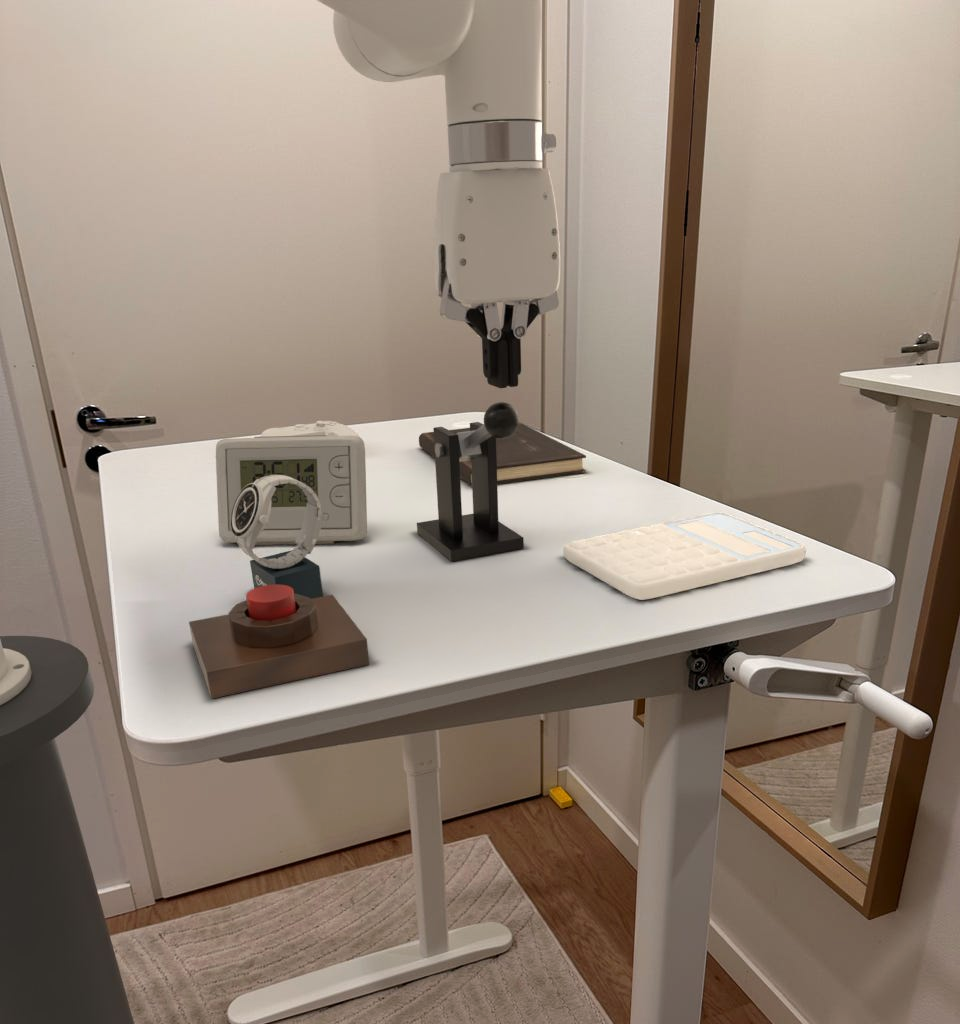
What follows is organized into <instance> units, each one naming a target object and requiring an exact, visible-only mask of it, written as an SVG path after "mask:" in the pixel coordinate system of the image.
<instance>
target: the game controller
mask: <svg viewBox="0 0 960 1024" xmlns="http://www.w3.org/2000/svg"><path fill="white" fill-rule="evenodd" d="M309 435H326V436H358V437H360V435H359V433H357V432H356V431H355V430H354V429H353V428H351V427H349V426H348V425H346V424H343V423H340V422H337V421H332V420H316V422H313V423H306V424H304V423H297V424H295V425H290V426H283V427H270V428H267V429H265V430H263V431H262V432H261V434H260V437H267V436H309Z"/></svg>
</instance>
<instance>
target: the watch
mask: <svg viewBox="0 0 960 1024" xmlns="http://www.w3.org/2000/svg"><path fill="white" fill-rule="evenodd" d="M279 483H280V484H286V483H291V484H296V485H297V486H299V487H300V488H301V489H303V492H304V493H305V495H306V496H307V500H308V503H307V511H306V512H305V515H304V521H303V525H302V528H301V531H300V533H299V535H298V538H297V540H296V542H295V543H296V544H295V545H296V546H295V547H294V548H293V549H292V550H288V551H284V552H280V553H275V554H271V555H266V556H264V557H259V556H257V555H256V554H255V553H254V551H253V550H254V549H255V547H256V545H255V542H256V538H257V537H258V536H259V535H260V534H261V532H262V531H263V530H264V528H265V526H266V524H267V523H268V522H269V516H270V512H271V498H272V496H273V494H274V492H275V490H276V487H274V486H276V485H279ZM322 519H323V514H322V513H321V505H320V501H319V499H318V497H317V495H316V494H315V492H314V491H313V490H312V489H311V488H310V487H309V486H307V485H306V484H304V483H302V482H300V481H298V480H296V479H293V478H291V477H288V476H285V475H270V476H265V477H262V478H260V479H257V480H256V481H255V482H254V483H250V484H248V485H246V486H245V487H244V488H243V489H242V491H241V492H240V493H239V495H238V497H237V499H236V501H235V503H234V506H233V510H232V514H231V531H232V533H233V535H234V536H235V539H236V540H237V542H236V543H237V545H238V547H239V548H240V549H241V551H242V552H243V553H244V554H246V556H248V557H249V558H251V560H249V563H250V571H251V576H252V577H251V578H252V583H253V589H255V588H257V587H261V586H265V585H274V584H279V585H286V586H289V587H291V588H292V589H293V591H294V594H299V595H302V596H306V597H309V598H311V599H313V598H318V597H324V593H323V585H322V577H321V569H320V567H321V566H320V565H318V564H317V563H315V562H314V561H312V560H310V559H309V558H307V557H306V556H307V555H310V554H311V553H312V551H313V549H314V548H315V546H316V544H315V543H316V541H317V538H318V536H319V533H320V529H321V524H322Z"/></svg>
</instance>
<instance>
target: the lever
mask: <svg viewBox="0 0 960 1024" xmlns="http://www.w3.org/2000/svg"><path fill="white" fill-rule="evenodd" d="M519 422H520V416H519V413H518V411H517V409H516V407H514V406H513V405H512V404H510V403H508V402H504V401H499V402H495V403H493V404H491V405H490V406H488V408H487V409H486V411H485V412H484V415H483V424H484V425H482V426H481V427H479V428H478V429H477V430H475V431H467V432H459V433H456V434H457V435H458V440H459V462H460V461H468V460H473V459H474V458H476V457H477V456H479V455H480V454H482V452H481V447H480V444H481V443H482V442H484V441H485V440H487V439H488V438H489V437H491V436H493V437H495V438H500V439H502V438H507V437H509V436H511V435H512V434H514V432H515V431H516V430H517V428H518V425H519Z"/></svg>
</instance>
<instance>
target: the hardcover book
mask: <svg viewBox="0 0 960 1024" xmlns="http://www.w3.org/2000/svg"><path fill="white" fill-rule="evenodd" d="M449 430H450V431H452V432H453V433H455V434H456V433H459V432H467V431H470V427H465V428H455V429H449ZM418 445H419V447H420V448H421V449H423V450H424V451H425V452H426V453H428V454H429V455H430V456H431V457H433V458H434V459H435V448H434V431H428V432H427V431H426V432H421V433H420V434H419V436H418ZM496 454H497V485H503V484H510V483H517V482H519V483H520V482H525V481H532V480H533V481H534V480H540V479H547V478H556V477H564V476H570V475H579V474H586V472H587V470H586V469H584V468H583V459H586V458H587V455H586V454H584V453H582V452H580V451H578V450H576V449H574V448H572V447H570V446H568V445H566V444H564V443H562V442H560V441H558V440H556V439H555V438H552V437H550V436H549V435H546V434H544V433H542V432H540V431H538V430H536V429H534V428H532V427H530V426H528V425H526V424H524V423H523V422H520V421H519V425H518V428H517V430H516V431H515V432H514V434H512V435H511V436H509V437H507V438H502V439H500V438H496ZM460 479H462V480H463V481H465V482H466V483H468V484H469V486H471V487H472V468H471V460H468V461H460Z"/></svg>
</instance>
